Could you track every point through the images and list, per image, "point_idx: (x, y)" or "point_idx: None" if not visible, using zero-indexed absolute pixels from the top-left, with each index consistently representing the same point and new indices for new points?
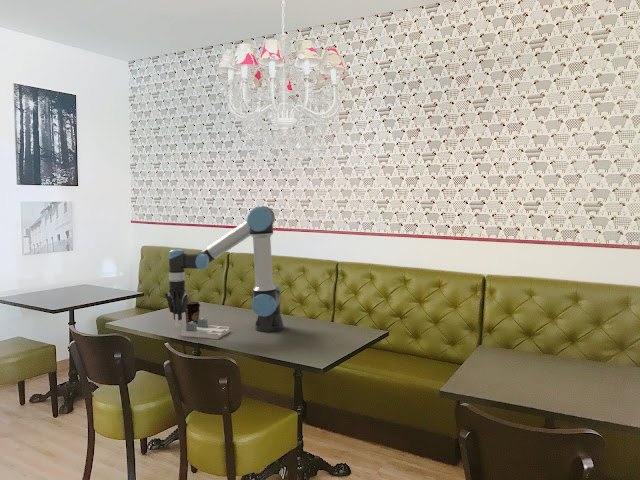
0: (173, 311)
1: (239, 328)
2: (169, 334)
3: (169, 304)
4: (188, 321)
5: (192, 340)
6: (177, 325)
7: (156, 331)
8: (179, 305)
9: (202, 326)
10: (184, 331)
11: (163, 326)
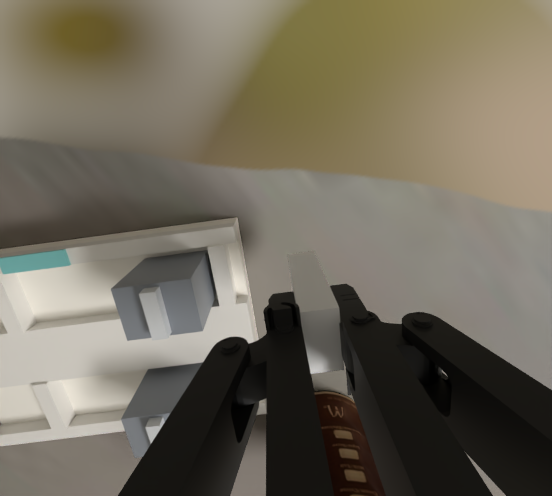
0: (376, 327)
1: (34, 485)
2: (344, 211)
3: (531, 403)
4: (331, 423)
5: (69, 149)
6: (290, 257)
7: (485, 236)
8: (268, 429)
9: (159, 377)
10: (202, 229)
11: (505, 352)
